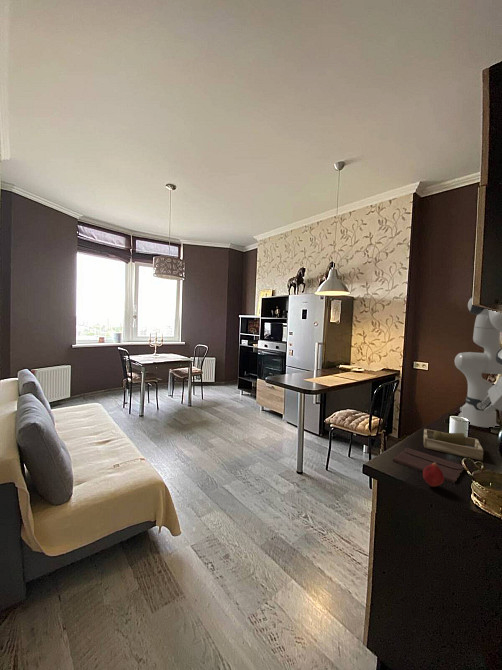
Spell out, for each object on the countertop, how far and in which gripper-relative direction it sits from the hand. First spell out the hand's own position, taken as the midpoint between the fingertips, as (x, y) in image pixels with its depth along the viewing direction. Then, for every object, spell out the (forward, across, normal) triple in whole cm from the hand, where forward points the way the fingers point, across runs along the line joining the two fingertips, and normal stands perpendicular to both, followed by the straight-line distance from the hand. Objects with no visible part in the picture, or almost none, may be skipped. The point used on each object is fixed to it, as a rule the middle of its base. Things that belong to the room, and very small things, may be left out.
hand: (484, 408), depth 123 cm
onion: (+20, +47, -5) cm, 51 cm away
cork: (+15, +4, +3) cm, 16 cm away
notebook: (+23, +31, -6) cm, 39 cm away
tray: (+21, +6, +1) cm, 22 cm away
